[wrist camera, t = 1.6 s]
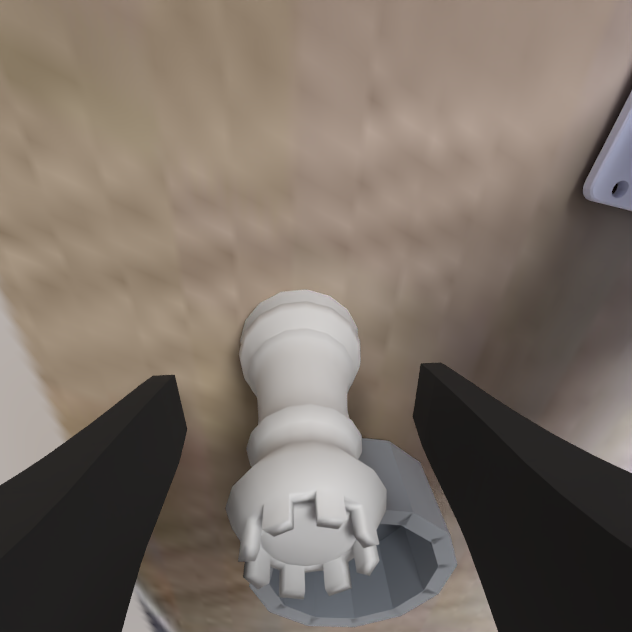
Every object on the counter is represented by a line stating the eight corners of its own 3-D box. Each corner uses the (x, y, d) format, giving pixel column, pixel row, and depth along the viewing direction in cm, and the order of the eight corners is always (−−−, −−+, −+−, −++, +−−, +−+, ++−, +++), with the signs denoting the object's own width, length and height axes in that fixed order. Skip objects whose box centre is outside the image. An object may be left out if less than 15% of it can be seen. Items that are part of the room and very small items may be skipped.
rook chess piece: (341, 269, 12) (414, 441, 5) (367, 368, 14) (447, 595, 7) (223, 303, 12) (128, 515, 5) (265, 396, 14) (238, 642, 7)
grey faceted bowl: (450, 447, 16) (488, 518, 13) (395, 553, 20) (415, 628, 17) (273, 428, 15) (268, 500, 12) (249, 544, 19) (240, 624, 15)
